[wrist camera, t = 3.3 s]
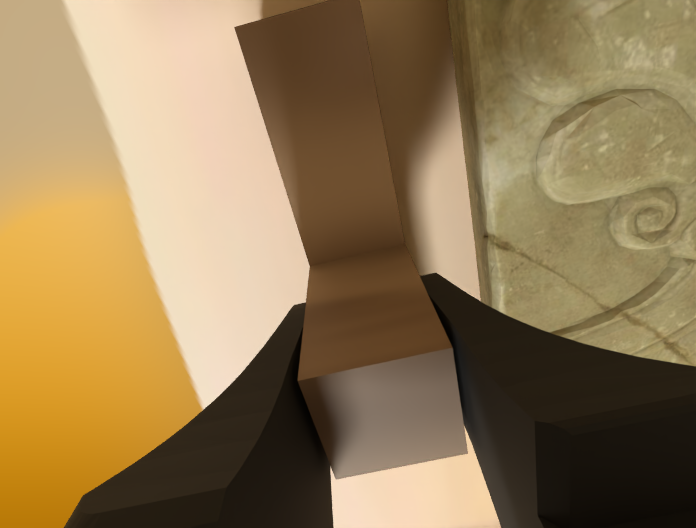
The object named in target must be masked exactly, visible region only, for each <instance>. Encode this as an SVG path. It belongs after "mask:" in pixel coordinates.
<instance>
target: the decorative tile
mask: <svg viewBox="0 0 696 528" xmlns="http://www.w3.org/2000/svg"><path fill="white" fill-rule="evenodd" d="M447 5H448V14H449V24H450V34H451V40H452V49H453V58H454V66H455V76H456V85H457V93H458V101H459V110H460V119H461V128H462V137H463V146H464V154H465V163H466V171H467V179H468V188H469V197H470V206H471V215H472V223H473V232H474V240H475V248H476V259H477V268H478V277H479V286H480V297H481V302H482V303H484V304H486V305H488V306H490V307H492V308H494V309H496V310H498V311H500V312H501V313H503V314H505V315H507V316H510V317H512V318H514V319H516V320H519V321H521V322H523V323H526V324H528V325H531V326H533V327H536V328H538V329H541V330H544V331H546V332H549V333H552V334H555V335H558V336H561V337H564V338H568V339H571V340H574V341H577V342H580V343H584V344H588V345H591V346H595V347H599V348H603V349H607V350H611V351H616V352H620V353H624V354H629V355H633V356H638V357H643V358H649V359H655V360H661V361H666V362H672V363H678V364H684V365H690V366H696V0H447Z"/></svg>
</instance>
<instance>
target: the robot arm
mask: <svg viewBox="0 0 696 528" xmlns="http://www.w3.org/2000/svg"><path fill="white" fill-rule="evenodd" d="M420 278H421V280H422V282H423V284H424V287H425V289H426V291H427V293H428V295H429V298H430V300H431V302H432V304H433V306H434V308H435V311H436V313H437V315H438V317H439V319H440V321H441V324H442V326H443V328H444V330H445V332H446V335H447V337H448V339H449V341H450V343H451V345H452V348H453V355H454V361H455V368H456V375H457V382H458V389H459V396H460V403H461V409H462V416H463V423H464V426H465V428H466V430H467V433H468V435H469V438H470V440H471V442H472V445H473V448H474V451H475V453H476V456H477V459H478V462H479V465H480V467H481V470H482V473H483V476H484V479H485V481H486V484H487V487H488V490H489V493H490V496H491V499H492V502H493V504H494V507H495V510H496V513H497V516H498V519H499V522H500V525H501V528H696V366H690V365H684V364H678V363H672V362H666V361H661V360H655V359H649V358H643V357H638V356H633V355H629V354H624V353H620V352H616V351H611V350H607V349H603V348H599V347H595V346H591V345H588V344H584V343H580V342H577V341H574V340H571V339H568V338H564V337H561V336H558V335H555V334H552V333H549V332H546V331H544V330H541V329H538V328H536V327H533V326H531V325H528V324H526V323H523V322H521V321H519V320H516V319H514V318H512V317H510V316H507V315H505V314H503V313H501V312H500V311H498V310H496V309H494V308H492V307H490V306H488V305H486V304H484V303H482V302H481V301H479V300H477V299H476V298H474V297H472V296H471V295H469V294H467V293H466V292H464V291H463V290H461V289H460V288H458V287H457V286H455V285H454V284H452V283H451V282H449V281H448V280H446V279H445V278H443V277H442V276H440V275H439V274H437V273H432V274H428V275H424V276H420ZM305 307H306V303H301V304H297V305H294V306H293V307H292V308H291V310H290V311H289V312H288V314H287V315H286V317H285V318H284V319H283V321H282V322H281V324H280V325H279V326H278V328H277V329H276V331H275V332H274V333H273V335H272V336H271V337H270V339H269V340H268V341H267V343H266V344H265V345H264V347H263V348H262V349H261V350H260V352H259V353H258V354H257V355H256V356H255V358H254V359H253V360H252V361H251V362H250V364H249V365H248V366H247V367H246V369H245V370H244V371H243V372H242V373H241V374H240V375H239V376H238V377H237V378H236V379H235V381H234V382H233V383H232V384H231V385H230V386H229V387H228V388H227V389H226V390H225V391H224V392H223V393H222V394H221V395H220V396H219V397H217V398H216V399H215V400H214V401H213V402H212V403H211V404H210V405H209V406H207V407H206V408H205V409H204V410H203V411H202V412H200V413H199V414H198V415H197V416H196V417H195V418H194V419H192V420H191V421H190V422H189V423H188V424H187V425H185V426H184V427H183V428H182V429H180V430H179V431H178V432H176V433H175V434H174V435H173V436H171V437H170V438H169V439H167V440H166V441H165V442H163V443H162V444H161V445H159V446H158V447H156V448H155V449H154V450H152V451H151V452H150V453H148V454H147V455H145V456H144V457H142V458H141V459H140V460H138V461H137V462H135V463H134V464H132V465H131V466H129V467H127V468H126V469H125V470H123V471H121V472H120V473H118V474H117V475H115V476H114V477H112V478H110V479H109V480H107V481H106V482H104V483H103V484H101V485H100V486H98V487H96V488H95V489H93V490H91V491H90V492H88V493H87V494H85V495H83V497H82V498H81V500H80V502H79V503H78V505H77V507H76V508H75V510H74V512H73V513H72V515H71V517H70V518H69V520H68V522H67V523H66V525H65V527H64V528H333V514H332V495H331V476H330V463H329V460H328V458H327V455H326V453H325V450H324V448H323V445H322V442H321V440H320V437H319V435H318V432H317V430H316V427H315V424H314V422H313V419H312V417H311V414H310V412H309V409H308V407H307V404H306V401H305V399H304V396H303V394H302V391H301V389H300V386H299V383H298V372H299V363H300V353H301V344H302V335H303V326H304V317H305Z"/></svg>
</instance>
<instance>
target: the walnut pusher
mask: <svg viewBox="0 0 696 528" xmlns="http://www.w3.org/2000/svg"><path fill="white" fill-rule="evenodd" d="M235 31H236V34H237V37H238V40H239V43H240V46H241V50H242V53H243V56H244V59H245V62H246V65H247V69H248V72H249V75H250V78H251V81H252V84H253V88H254V91H255V94H256V97H257V100H258V103H259V107H260V110H261V113H262V116H263V119H264V122H265V126H266V129H267V132H268V135H269V138H270V141H271V145H272V148H273V151H274V154H275V157H276V160H277V164H278V167H279V170H280V173H281V176H282V179H283V183H284V186H285V189H286V192H287V195H288V198H289V202H290V205H291V208H292V211H293V214H294V217H295V221H296V224H297V227H298V230H299V233H300V236H301V240H302V243H303V246H304V249H305V252H306V255H307V259H308V262H309V265H310V270H309V280H308V289H307V298H306V307H305V317H304V326H303V335H302V344H301V353H300V363H299V372H298V383H299V386H300V389H301V391H302V394H303V396H304V399H305V401H306V404H307V407H308V409H309V412H310V414H311V417H312V419H313V422H314V424H315V427H316V430H317V432H318V435H319V437H320V440H321V442H322V445H323V448H324V450H325V453H326V455H327V458H328V460H329V463H330V466H331V468H332V471H333V473H334V476H335V478H336V479H341V478H346V477H351V476H356V475H361V474H366V473H371V472H376V471H381V470H386V469H391V468H396V467H402V466H407V465H412V464H417V463H422V462H427V461H432V460H437V459H442V458H447V457H452V456H457V455H463V454H468V451H467V444H466V437H465V430H464V423H463V416H462V409H461V403H460V396H459V389H458V382H457V375H456V368H455V361H454V355H453V348H452V345H451V343H450V341H449V339H448V337H447V335H446V332H445V330H444V328H443V326H442V324H441V321H440V319H439V317H438V315H437V313H436V311H435V308H434V306H433V304H432V302H431V300H430V298H429V295H428V293H427V291H426V289H425V287H424V284H423V282H422V280H421V278H420V276H419V274H418V271H417V269H416V267H415V265H414V263H413V261H412V258H411V256H410V254H409V252H408V250H407V247H406V245H405V242H404V236H403V231H402V226H401V220H400V215H399V209H398V204H397V199H396V193H395V188H394V183H393V177H392V172H391V167H390V161H389V156H388V151H387V145H386V140H385V134H384V129H383V124H382V118H381V113H380V108H379V102H378V97H377V92H376V86H375V81H374V76H373V70H372V65H371V59H370V54H369V49H368V43H367V38H366V33H365V27H364V22H363V17H362V11H361V6H360V1H359V0H330V1H326V2H323V3H319V4H316V5H312V6H308V7H305V8H301V9H298V10H294V11H291V12H287V13H283V14H280V15H276V16H273V17H269V18H265V19H262V20H258V21H255V22H251V23H248V24H244V25H240V26H237V27H235Z"/></svg>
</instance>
